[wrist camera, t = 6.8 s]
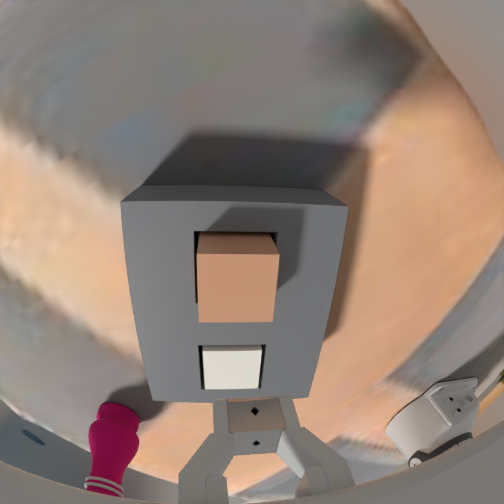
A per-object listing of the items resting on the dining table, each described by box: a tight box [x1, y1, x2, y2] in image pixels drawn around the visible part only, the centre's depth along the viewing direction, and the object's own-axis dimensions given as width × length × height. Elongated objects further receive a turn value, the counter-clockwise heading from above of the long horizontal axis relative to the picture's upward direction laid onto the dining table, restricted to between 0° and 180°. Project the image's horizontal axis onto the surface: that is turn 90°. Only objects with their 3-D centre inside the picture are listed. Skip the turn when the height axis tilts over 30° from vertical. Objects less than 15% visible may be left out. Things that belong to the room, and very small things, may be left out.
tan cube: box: [197, 231, 280, 323], centre depth 21 cm, size 5×5×5 cm
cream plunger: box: [203, 345, 262, 389], centre depth 28 cm, size 5×5×5 cm
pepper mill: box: [84, 403, 139, 498], centre depth 27 cm, size 7×7×20 cm
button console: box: [120, 185, 349, 403], centre depth 27 cm, size 16×20×6 cm
